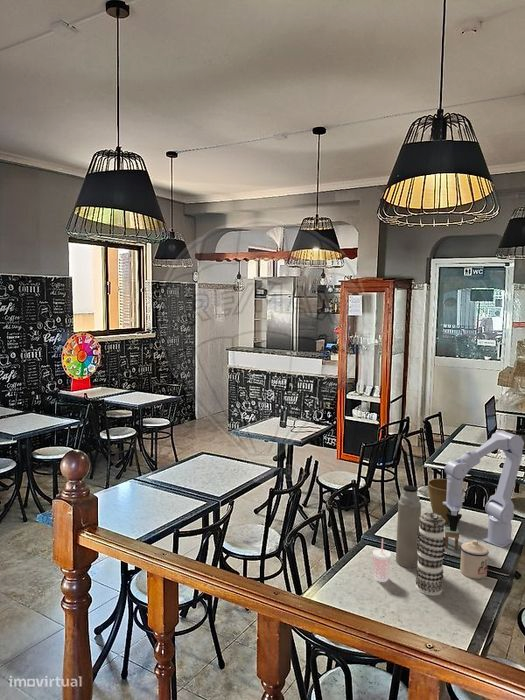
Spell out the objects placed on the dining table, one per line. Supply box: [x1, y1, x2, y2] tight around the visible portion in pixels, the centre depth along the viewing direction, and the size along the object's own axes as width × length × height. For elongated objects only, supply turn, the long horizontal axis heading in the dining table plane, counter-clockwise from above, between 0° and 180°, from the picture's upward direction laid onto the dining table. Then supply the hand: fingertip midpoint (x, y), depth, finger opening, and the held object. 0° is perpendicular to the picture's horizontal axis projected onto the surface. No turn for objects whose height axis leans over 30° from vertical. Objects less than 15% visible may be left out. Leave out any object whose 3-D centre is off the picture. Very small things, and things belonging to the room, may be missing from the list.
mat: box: [443, 536, 464, 558], centre depth 207 cm, size 12×12×1 cm
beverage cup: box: [372, 538, 392, 583], centre depth 181 cm, size 6×6×14 cm
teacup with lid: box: [459, 539, 490, 580], centre depth 188 cm, size 12×9×12 cm
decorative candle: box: [415, 511, 446, 596], centre depth 175 cm, size 9×9×25 cm
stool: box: [444, 526, 460, 550], centre depth 206 cm, size 5×5×6 cm
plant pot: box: [427, 478, 465, 524], centre depth 232 cm, size 15×15×16 cm
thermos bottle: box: [395, 485, 422, 569], centre depth 193 cm, size 8×8×28 cm
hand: (452, 526), depth 206 cm, fingers open, 7 cm apart
